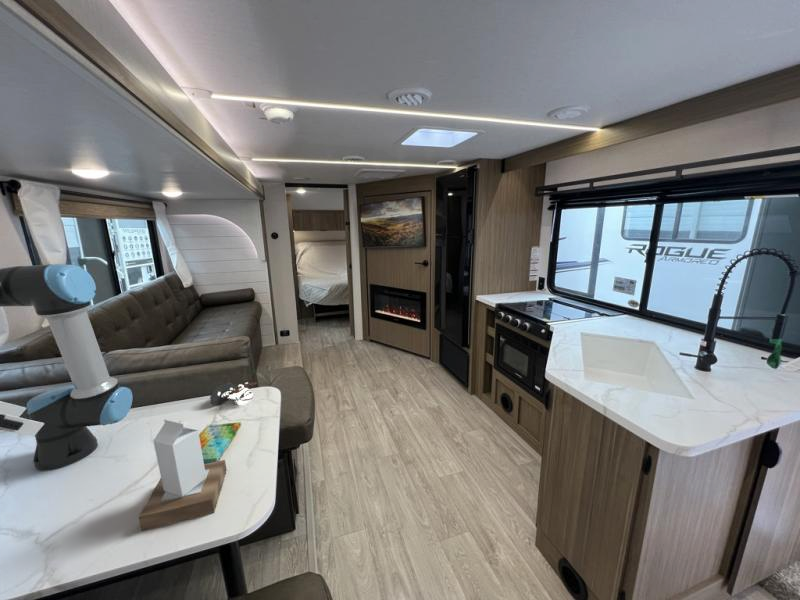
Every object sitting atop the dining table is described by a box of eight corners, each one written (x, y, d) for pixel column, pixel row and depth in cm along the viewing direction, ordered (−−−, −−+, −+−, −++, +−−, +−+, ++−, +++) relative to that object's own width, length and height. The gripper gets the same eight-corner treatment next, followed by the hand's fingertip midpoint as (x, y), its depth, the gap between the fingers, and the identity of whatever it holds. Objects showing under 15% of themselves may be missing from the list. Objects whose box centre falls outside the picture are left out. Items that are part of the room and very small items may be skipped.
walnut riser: (166, 484, 94) (163, 471, 94) (226, 471, 99) (224, 458, 98) (141, 530, 79) (137, 516, 78) (214, 512, 84) (211, 498, 83)
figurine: (230, 379, 150) (260, 377, 143) (235, 398, 151) (264, 397, 144) (203, 391, 137) (234, 389, 130) (208, 412, 138) (239, 411, 131)
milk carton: (182, 497, 84) (169, 431, 80) (163, 491, 86) (150, 426, 82) (206, 478, 90) (195, 416, 86) (188, 473, 93) (177, 412, 89)
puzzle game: (175, 459, 99) (207, 422, 118) (178, 473, 99) (209, 434, 119) (215, 455, 100) (240, 420, 119) (218, 469, 101) (242, 431, 120)
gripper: (-143, 392, 62) (1, 423, 77) (-139, 428, 49) (31, 456, 65) (-102, 356, 65) (28, 393, 81) (-89, 382, 53) (61, 419, 68)
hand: (29, 421), depth 73 cm, fingers open, 13 cm apart
